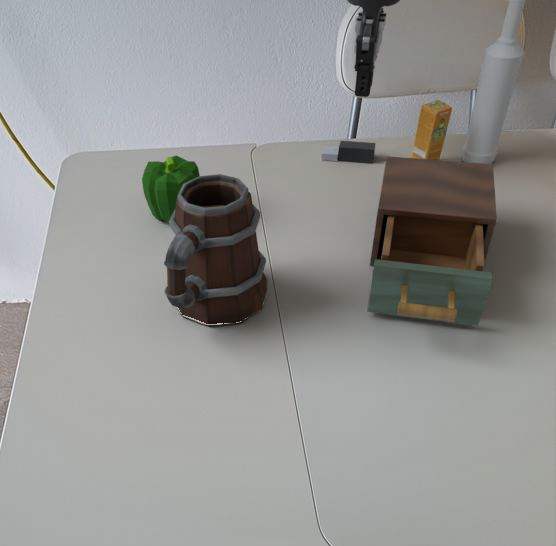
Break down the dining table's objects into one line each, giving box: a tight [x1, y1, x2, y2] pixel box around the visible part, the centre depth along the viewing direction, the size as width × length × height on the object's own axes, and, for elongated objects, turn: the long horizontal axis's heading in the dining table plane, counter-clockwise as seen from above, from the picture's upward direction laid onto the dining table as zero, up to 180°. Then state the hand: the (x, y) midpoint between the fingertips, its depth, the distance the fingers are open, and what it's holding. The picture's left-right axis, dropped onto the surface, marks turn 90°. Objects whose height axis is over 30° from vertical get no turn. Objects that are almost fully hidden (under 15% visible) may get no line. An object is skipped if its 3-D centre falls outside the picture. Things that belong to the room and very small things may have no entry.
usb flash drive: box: [321, 140, 376, 164], centre depth 105 cm, size 8×3×2 cm, turn 74°
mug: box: [163, 173, 268, 324], centre depth 75 cm, size 16×12×15 cm
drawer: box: [366, 215, 493, 327], centre depth 76 cm, size 17×12×7 cm
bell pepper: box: [141, 155, 201, 224], centre depth 93 cm, size 8×8×10 cm
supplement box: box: [410, 99, 453, 160], centre depth 99 cm, size 3×3×10 cm
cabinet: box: [369, 155, 498, 267], centre depth 85 cm, size 14×14×9 cm
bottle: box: [461, 0, 527, 164], centre depth 94 cm, size 5×5×25 cm
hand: (363, 90), depth 98 cm, fingers closed
